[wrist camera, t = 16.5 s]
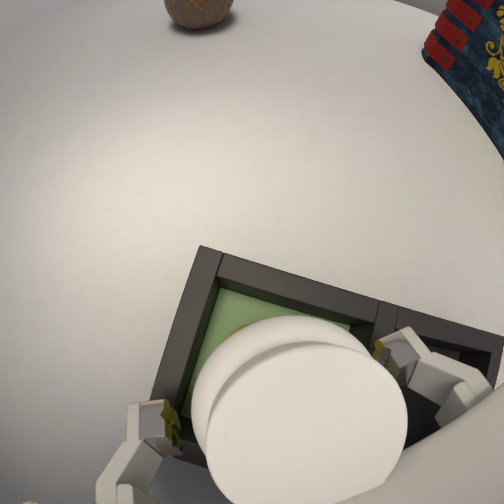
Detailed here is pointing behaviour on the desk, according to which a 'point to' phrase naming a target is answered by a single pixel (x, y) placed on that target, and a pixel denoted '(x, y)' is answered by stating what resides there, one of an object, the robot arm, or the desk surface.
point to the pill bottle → (297, 414)
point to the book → (472, 59)
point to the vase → (197, 12)
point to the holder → (297, 304)
